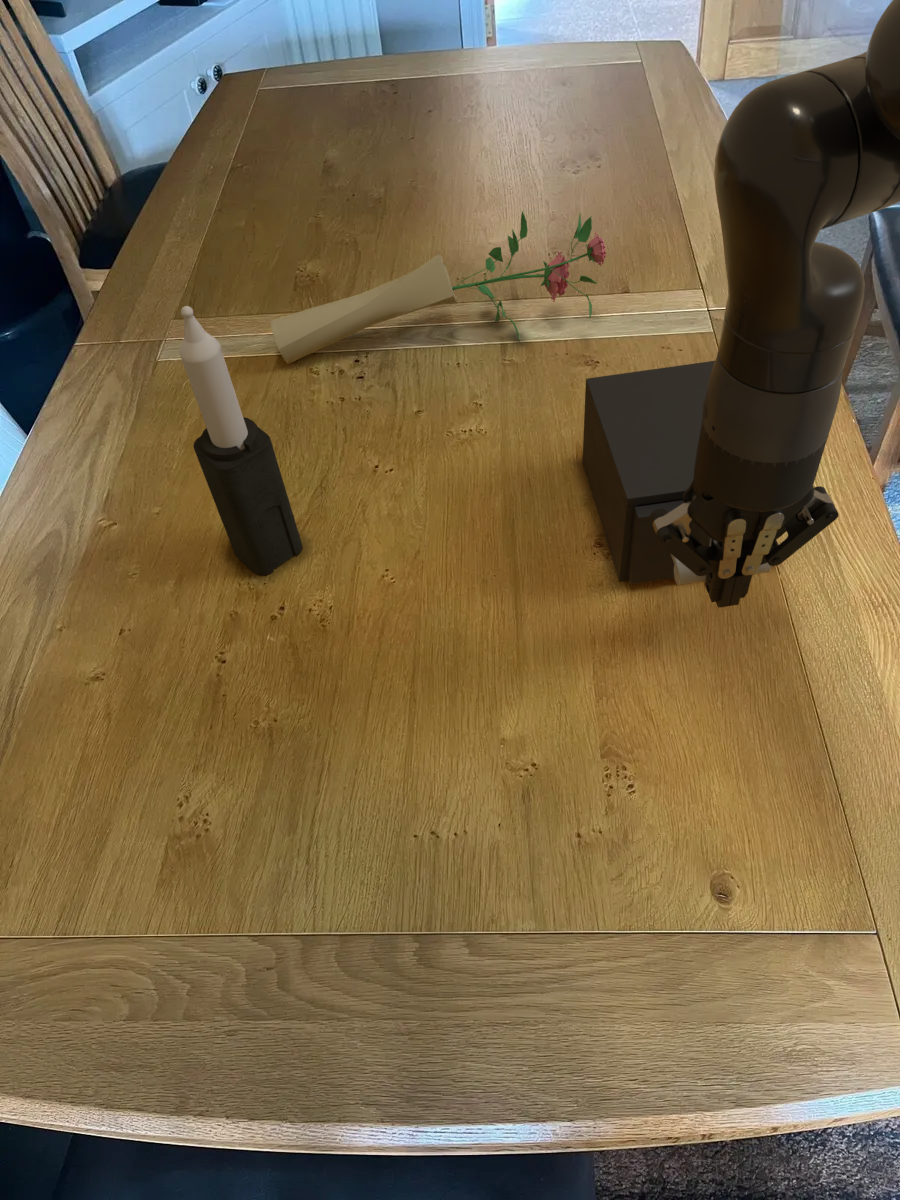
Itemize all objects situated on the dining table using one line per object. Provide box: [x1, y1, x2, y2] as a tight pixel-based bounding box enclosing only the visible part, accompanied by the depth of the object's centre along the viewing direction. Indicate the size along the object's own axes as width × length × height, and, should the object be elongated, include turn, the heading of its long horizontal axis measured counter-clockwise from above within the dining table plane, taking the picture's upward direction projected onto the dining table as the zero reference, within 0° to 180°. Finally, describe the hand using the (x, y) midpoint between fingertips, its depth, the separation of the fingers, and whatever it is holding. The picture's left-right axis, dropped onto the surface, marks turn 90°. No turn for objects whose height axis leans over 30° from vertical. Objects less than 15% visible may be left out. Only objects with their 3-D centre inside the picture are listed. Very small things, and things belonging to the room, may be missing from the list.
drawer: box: [627, 500, 772, 586], centre depth 77 cm, size 18×12×8 cm, turn 7°
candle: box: [179, 305, 303, 577], centre depth 74 cm, size 5×5×25 cm
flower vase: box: [270, 210, 607, 365], centre depth 99 cm, size 12×12×35 cm
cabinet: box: [581, 360, 715, 582], centre depth 79 cm, size 15×13×10 cm
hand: (724, 597), depth 71 cm, fingers closed
